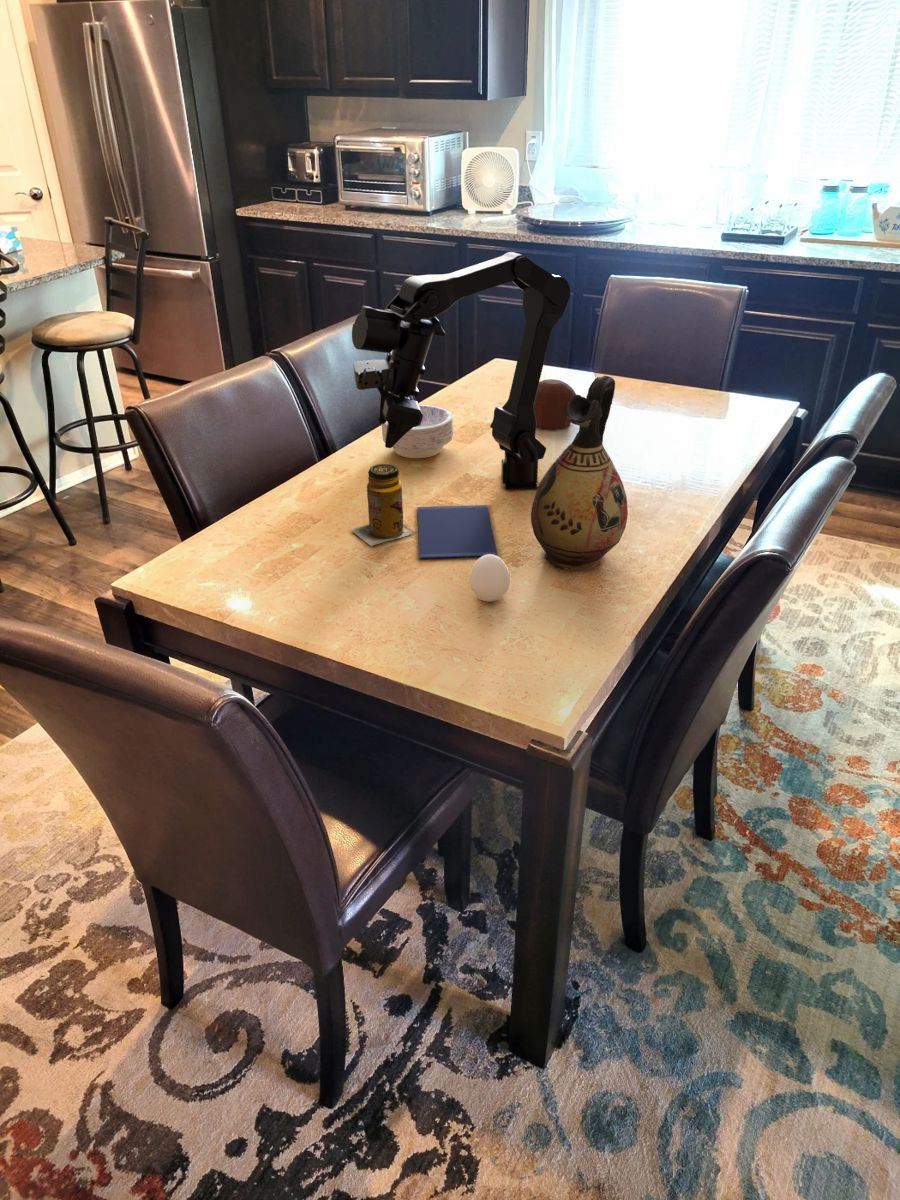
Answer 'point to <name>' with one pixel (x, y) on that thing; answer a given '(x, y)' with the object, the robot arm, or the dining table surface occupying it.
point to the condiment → (383, 506)
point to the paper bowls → (425, 434)
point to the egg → (489, 578)
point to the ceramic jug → (582, 489)
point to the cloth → (455, 532)
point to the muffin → (552, 404)
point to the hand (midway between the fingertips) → (384, 435)
